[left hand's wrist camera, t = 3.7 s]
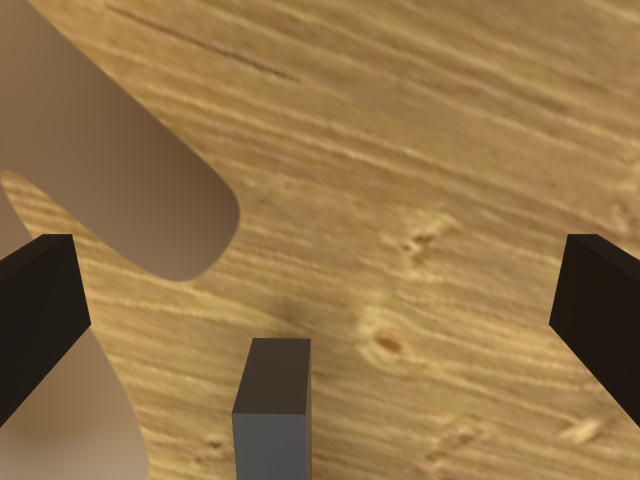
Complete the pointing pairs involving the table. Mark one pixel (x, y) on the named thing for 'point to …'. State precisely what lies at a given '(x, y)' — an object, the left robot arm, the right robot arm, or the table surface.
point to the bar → (274, 411)
